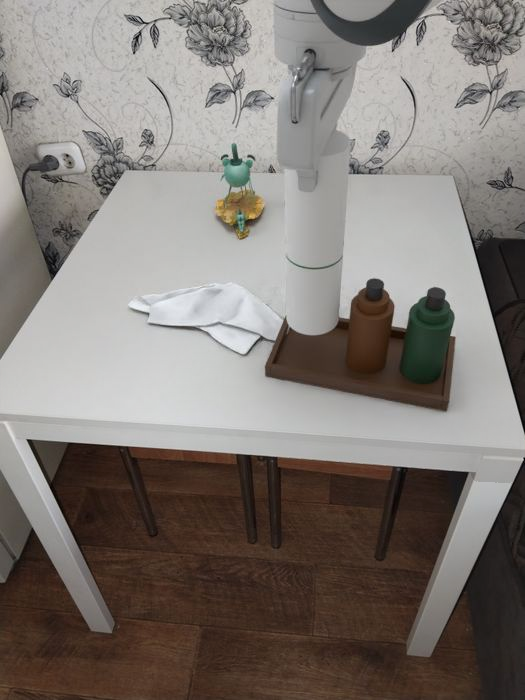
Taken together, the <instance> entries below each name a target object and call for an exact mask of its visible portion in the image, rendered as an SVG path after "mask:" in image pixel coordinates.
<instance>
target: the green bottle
mask: <svg viewBox="0 0 525 700" xmlns="http://www.w3.org/2000/svg"><path fill="white" fill-rule="evenodd" d="M446 296H447V293H446V290H445V289H444V288H441V287H436V286H435V287H430V288H428V290H427V293H426V295H425V296H423V297H421V298H419V299H418V301H417V302H416V303H414V304H413V305H412V306H411V307H410V308H409V312H408V317H407V321H406V327H405V328H406V333H405V339H404V344H403V350H402V355H401V361H400V372H401V374H402V375H403V376H404V377H405V378H406V379H408V380H409V381H411V382H414V383H418V384H429V383H432V382H434V381H436V380H437V379H438V378H439V377H440V375H441V371H442V367H443V363H444V359H445V355H446V351H447V347H448V343H449V339H450V336H452V331H453V327H454V323H455V319H456V316H455V312H454V311H453V310H452V308H451V304H450V303H449V301H448V300H446Z"/></svg>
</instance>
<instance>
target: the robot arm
mask: <svg viewBox="0 0 525 700" xmlns="http://www.w3.org/2000/svg"><path fill="white" fill-rule="evenodd" d="M441 2H443V0H273V31H274V32H273V37H274V42H273V43H274V57H275V58H276V59H277V60H278V61H279V62H281V63H282V64H285V65H287V74H288V76H287V77H286V79H285V80H284V81H283V83H282V85H281V87H280V91H279V95H278V102H277V114H276V115H277V116H276V160H277V163H278V166H279V167H280V168H281V169H283V170H284V169H290V170H296V172H297V175H298V189H299V190H300V191H303V192H313V191H314V190H315V188H316V185H317V181H318V180H317V178H318V171H316V164H317V162H318V160H319V158H320V156H321V154H322V152H323V150H324V148H325V146H326V144H327V142H328V139H329V137H330V135H331V133H332V131H333V129H335V130H337V127H338V122H339V119H340V117H341V115H342V113H343V111H344V109H345V107H346V105H347V103H348V101H349V99H350V97H351V95H352V91H353V88H354V83H355V78H356V72H357V65H358V62H359V61H361V60H362V59H363V58H364V57H365V56H366V54H367V47H374V46H380V45H383V44H386V43H389V42H391V41H392V40H395V39H396V38H397V37H399V36H401V35H402V34H403V33H404V32H405V31H406V30H408V29H409V28H410V27H411V26H412V25H413V24H415V23H416V21H418V20H419V19H420V17H422V16H423V15H424V14H426V13H427V12H429V11H430V10H432V8H434V7H436V6H437V5H439V3H441Z"/></svg>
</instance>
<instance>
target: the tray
mask: <svg viewBox="0 0 525 700" xmlns="http://www.w3.org/2000/svg"><path fill="white" fill-rule="evenodd" d="M349 319H350V318H345V317H340V316H339V320H338V323H337V325H336V326H335V328H334V329H332V330H331V331H329V332H327V333H324V334H321V335H305V334H301V333H299V332H296V331H295V330H293V329H292V328H291V327H290V328H289V331H288V327H289V325H288V323H287V320H286V315H285V316H284V319H283V320H284V321H283V323H282V326H281V328H280V331H279V333H278V336H277V338H276V340H275V341H274V343H273V345H272V348H271V350H270V352H269V355H268V357H267V360H266V362H265V365H264V376H265V377H268V378H273V379H279V380H284V381H289V382H293V383H294V382H295V383H298V384H305V385H309V386H314V387H318V388H319V387H320V388H325V389H330V390H333V391H334V390H336V391H340V392H345V393H350V394H356V395H361V396H366V397H371V398H376V399H381V400H386V401H391V402H396V403H402V404H405V405H407V404H408V405H411V406H412V405H413V406H416V407H423V408H427V409H431V410H437V411H443V412H447V411H448V407H449V404H450V399H451V398H450V397H451V389H452V388H451V387H452V380H453V379H452V378H453V377H452V376H453V367H454V356H455V349H456V348H455V346H456V337H457V336H455V335H450V339H449V343H448V347H447V351H446V355H445V359H444V363H443V367H442V371H441V375H440V377H439V378H438V379H437V380H436V381H434V382H432V383H429V384H418V383H414V382H411V381H409V380H408V379H406V378H405V377H404V376H403V375H402V374H401V372H400V361H401V355H402V350H403V344H404V339H405V333H406V328H407V327H400V326H394V325H392V328H391V334H390V340H389V347H388V353H387V359H386V364H385V366H384V368H383V369H382V370H380V371H378V372H376V373H371V374H365V373H360V372H357V371H355V370H353V369H352V368H351V367H350V366H349V365H348V364H347V361H346V352H347V341H348V330H349ZM287 332H288V334H287Z"/></svg>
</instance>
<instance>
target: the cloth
mask: <svg viewBox="0 0 525 700" xmlns="http://www.w3.org/2000/svg"><path fill="white" fill-rule="evenodd" d="M127 306H128V307H129V308H131V309H132V310H136V311H139V312H142V313H147V314H149V315H148V318H147V321H146V323H147V324H153V325H160V326H172V327H194V328H197V329H200V330H202V331H203V332H206V333H208V334H209V335H210V336H211V337H212V338H213V339H214V340H216V341H217V342H218V343H220V344H221V345H222V346H224V347H227V348H228V349H230V350H232V351H234V352H236V353H238V354H240V355H242V356H243V355H246V354H247V353H248V352H249V350H250V349H251V348H252V347H253V345H254V344H255V343H256V342H257V341H258V340H259V339H260V338H261V337H263V338H264V339H265V340H269V341H273V342H275V340H276V338H277V336H278V333H279V331H280V328H281V326H282V323H283V321H284V319H283V318H282V317H281V316H279V315H278V314H276V312H275V311H274V310H273V309H272V308H270V307H269V306H268V305H267V304H265V303H264V302H263V301H262V300H261V299H259V298H258V297H257V296H256V295H255V294H253V293H252V292H250V291H249V290H248V289H246V288H245V287H243V286H241V285H240V284H237V283H234V282H232V281H229V282H227V283H219V282H214V283H208V284H204V285H200V286H193V287H186V288H178V289H174V290H171V291H167V292H164V293H161V294H155V293H154V294H153V293H152V294H151V293H150V294H143V295H140V294H139V295H135V296H134V297H133V298H132V299H131V301H130V302H129V303H128V305H127ZM289 328H290V326H289V327H288V331H289ZM287 334H288V332H287Z"/></svg>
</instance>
